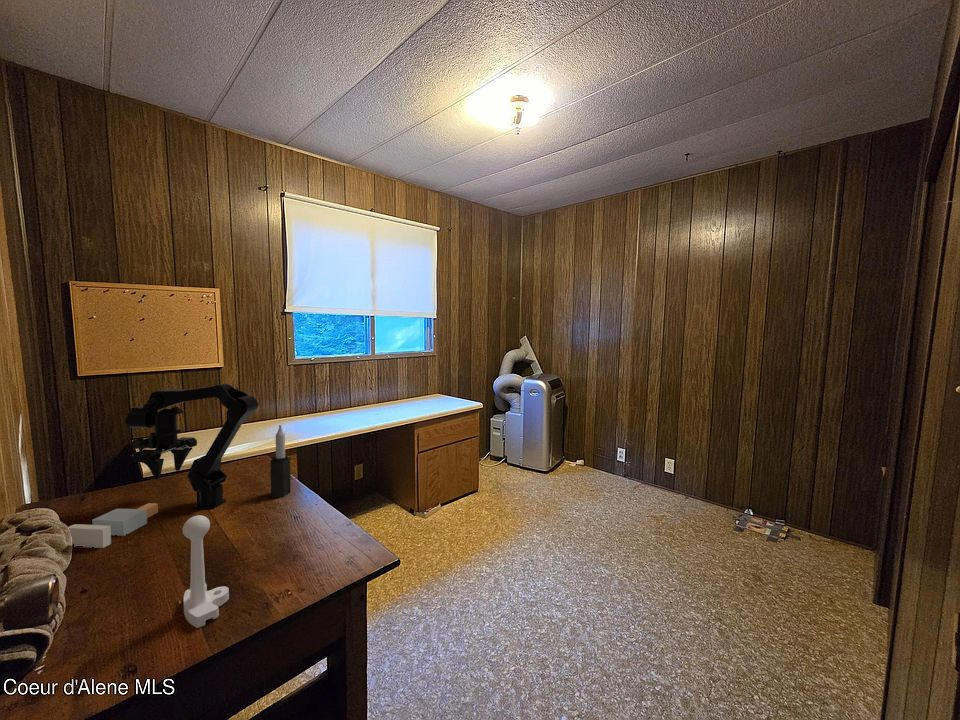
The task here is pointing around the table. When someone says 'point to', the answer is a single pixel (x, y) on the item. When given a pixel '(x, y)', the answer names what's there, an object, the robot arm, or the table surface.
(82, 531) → the wall
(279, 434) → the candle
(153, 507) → the tan rectangular brick
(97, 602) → the table surface
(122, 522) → the sled
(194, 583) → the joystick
